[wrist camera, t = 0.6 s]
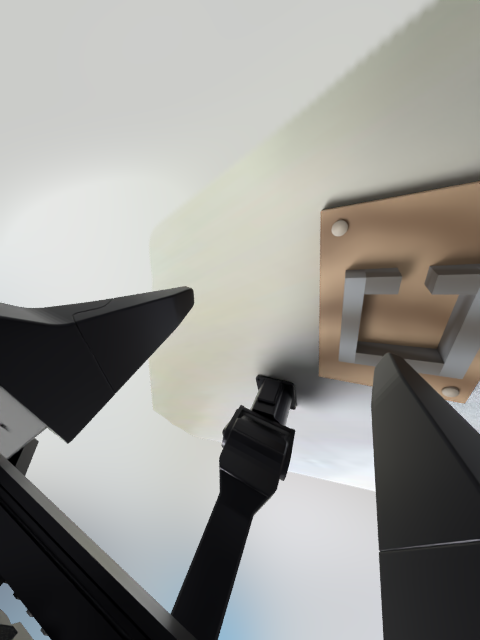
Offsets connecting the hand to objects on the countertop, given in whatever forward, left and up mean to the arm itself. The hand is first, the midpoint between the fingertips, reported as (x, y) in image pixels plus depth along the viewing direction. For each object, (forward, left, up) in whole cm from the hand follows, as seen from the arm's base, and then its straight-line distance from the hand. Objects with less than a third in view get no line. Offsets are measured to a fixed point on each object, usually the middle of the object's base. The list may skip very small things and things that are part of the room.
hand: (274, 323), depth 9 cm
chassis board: (-7, -8, -14) cm, 17 cm away
